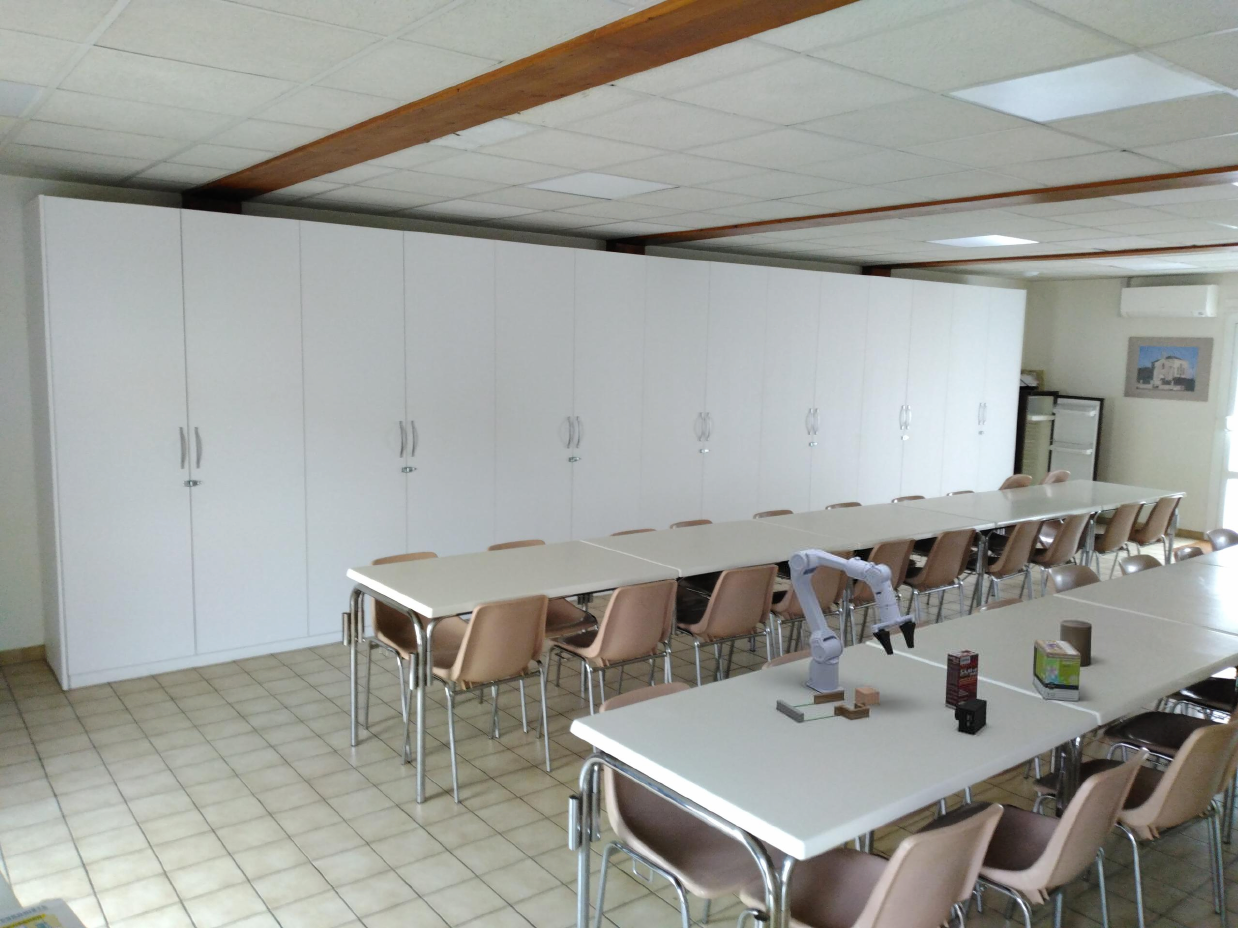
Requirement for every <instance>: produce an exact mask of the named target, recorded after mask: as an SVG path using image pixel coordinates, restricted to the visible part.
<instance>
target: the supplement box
mask: <svg viewBox="0 0 1238 928" xmlns="http://www.w3.org/2000/svg"><path fill="white" fill-rule="evenodd" d="M946 660H947V661H946V681H945V682H946V684H945V704H944V705H945V706H946V707H948V708H951V709H953V710H955V708H956V706H957V704H960V705H963V704H964V703H965V702H966V701H968V700H969V699H970V698H977V699H978V677H979V676H978V675H979V653H977V652H974V651H972V650H968V649H965V650H960V651H956V652H951V653H947V659H946Z"/></svg>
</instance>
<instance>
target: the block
mask: <svg viewBox="0 0 1238 928" xmlns="http://www.w3.org/2000/svg"><path fill="white" fill-rule="evenodd" d="M862 701H863V702H865V706H866V707H871V706H876V705H877V706H878V705H880V691H879V690H877V689H875V688H874V687H871V686H863V687H857V688H854V702H855V703H856V702H862Z"/></svg>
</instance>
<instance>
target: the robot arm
mask: <svg viewBox="0 0 1238 928" xmlns="http://www.w3.org/2000/svg"><path fill="white" fill-rule="evenodd" d="M861 559H862V558H861V557H859V556H855V557H851V558H850V559H846V558H843V557H840V556H838V555H834V554H832V553H829V552H826V551H824V550H823V549H818V548H814V547H812V548H809V549H805V550H802V551H800V550H799V551H795V552H793V553H792V554H791V556H790V558H789V560H788V562H787V564H788V566H789V569H790V582H791V585H792V586H793V590H794V592H795V594H796V598H797V599H798V602H799V605H800V607H801V610H802V613H803V615H804V618H805V620H806V622H807V625H808V627H809V631H810V633H811V635H810V638H809V641H808V644H809V645H810V655H811V656H812V659H811V660H810V661H809V664H808V682H806V685H807V686H808V687H810V688H812V689H813V690H816V691H817V692H819V693H820V694H823V693H830V692H836V691H844V692H845V689H844V688H843V687H841V686H839V666H840V663H839V661H840V656H841V655H842V654H843V652H844V645H843V642H842V640H840V638H838V636H837V634H836V632H835V631H834V630H832V629H831V628H829V626H828V624H827V621H826V617H825V616H824V613H823V610H822V609H821V606H820V603H819V601H818V598H817V596H816V593H815V591H814V588H813V585H812V583H811V579H812V576H813V575H814V573H815V572H816V571H817V570H818V569H819V568H820V566H825V567H826V566H827V567H829V568H834V569H837V570H840V571H844V572H845V574H846V576H848V577H851V578H854V579H857V580H860V581H863V582H865V583H866V585H868V586H869V587H870V588H871V592H872V593H873V597H874V600H875V603H876V604H875V605H876V607H877V610H878V614H879V617H880V620H881V622H879V623H876V624H874V625H871V626H869V629H870V632H871V633H872V635H873V637H874V638H876V640H877V641H878V642H879V643H880V644H881V646H882V648H883V649H884V652H885V654H886V655H887V656H891V655H894V649H893V647H892V646H893V645H892V641H891V631H890V630H887V629H891V628H894V627H898V628H899V630H900V632H901V633H902V635H903V638H904V641H905V644H906V647H907V649H913V648H915V630H916V618H915V615H914V614H913V613H912V614H907V615H904V616H901V612H900V609H899V604H898V602H897V598H896V596H895V592H894V588H893V586H892V582H891V580H892V578H893V574H892V573H893V572H892V570H891V568H890V567H889V566H887V565H886V564H884V563H879V564H877V565H876V564H875V562H874V561H871V562H868V561H865V560H861Z"/></svg>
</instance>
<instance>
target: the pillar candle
mask: <svg viewBox="0 0 1238 928" xmlns="http://www.w3.org/2000/svg"><path fill="white" fill-rule="evenodd" d="M1092 629H1093V625H1092V623H1090V622H1087V621H1083V620H1077V619H1076V620H1075V619H1068V620H1067V619H1064V620H1061V621H1060V629H1059V632H1060V633H1059V641H1067V642H1068V643H1069V644H1070V645H1071V646H1072V647H1073V648H1074V649H1075V650H1077V651H1078V652H1079V653H1080V654H1081V660H1080V667H1089V666H1091V663H1092V662H1091V661H1092V660H1091V659H1092V632H1093V631H1092Z"/></svg>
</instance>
